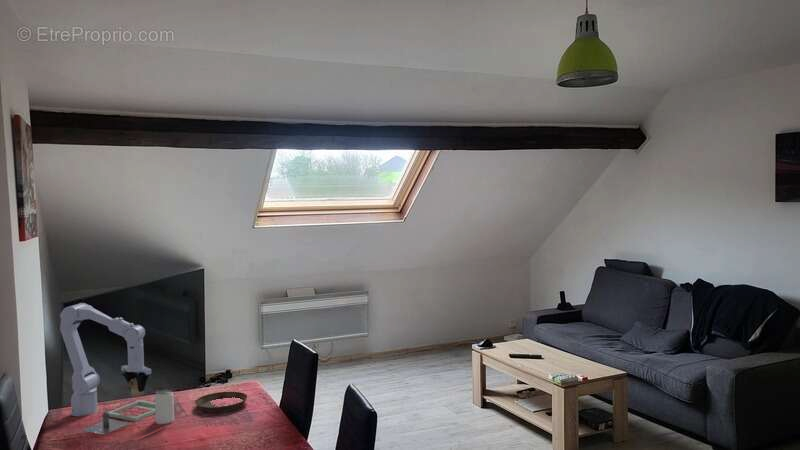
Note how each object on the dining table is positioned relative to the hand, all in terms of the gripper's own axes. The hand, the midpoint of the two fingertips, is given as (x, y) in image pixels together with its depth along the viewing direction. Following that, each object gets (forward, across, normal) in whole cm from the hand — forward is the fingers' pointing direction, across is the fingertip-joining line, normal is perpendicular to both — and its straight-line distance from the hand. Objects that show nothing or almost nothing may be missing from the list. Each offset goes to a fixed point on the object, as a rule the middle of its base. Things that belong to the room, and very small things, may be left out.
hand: (137, 390), depth 236 cm
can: (+10, +18, -3) cm, 21 cm away
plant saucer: (+10, +25, +20) cm, 34 cm away
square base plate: (+9, +2, -16) cm, 19 cm away
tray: (+9, 0, 0) cm, 9 cm away
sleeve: (+2, 0, 0) cm, 2 cm away
